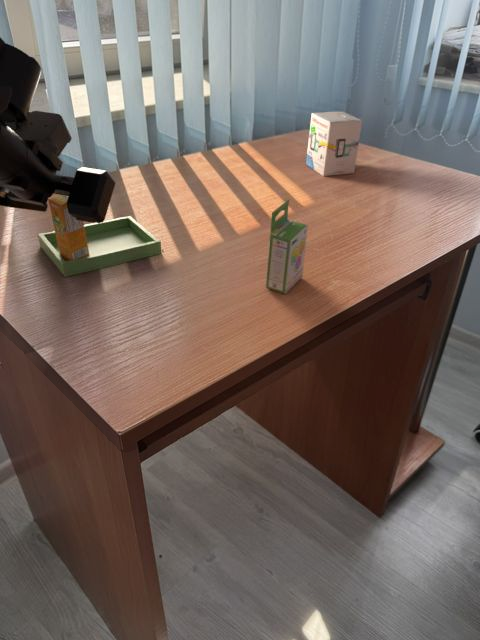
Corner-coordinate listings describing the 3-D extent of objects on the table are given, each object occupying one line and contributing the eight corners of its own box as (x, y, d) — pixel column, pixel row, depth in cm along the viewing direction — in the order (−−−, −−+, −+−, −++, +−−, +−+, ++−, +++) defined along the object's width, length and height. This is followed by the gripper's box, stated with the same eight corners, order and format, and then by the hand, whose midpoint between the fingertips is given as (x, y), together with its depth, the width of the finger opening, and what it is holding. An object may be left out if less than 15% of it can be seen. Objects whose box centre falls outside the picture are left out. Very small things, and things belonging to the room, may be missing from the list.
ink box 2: (304, 164, 123) (310, 111, 116) (335, 161, 126) (342, 110, 119) (323, 176, 117) (330, 121, 109) (354, 173, 120) (363, 119, 113)
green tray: (65, 277, 75) (62, 264, 74) (40, 246, 82) (37, 234, 81) (161, 253, 82) (160, 241, 81) (131, 227, 90) (130, 215, 88)
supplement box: (58, 262, 77) (45, 197, 71) (78, 255, 79) (67, 191, 73) (72, 270, 75) (60, 204, 69) (92, 262, 78) (82, 197, 72)
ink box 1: (286, 295, 74) (294, 218, 67) (264, 288, 76) (270, 212, 68) (302, 277, 79) (311, 203, 72) (282, 271, 80) (288, 198, 73)
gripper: (97, 102, 58) (148, 171, 74) (-43, 83, 62) (33, 152, 77) (69, 194, 57) (127, 245, 72) (-73, 169, 61) (11, 222, 76)
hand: (74, 213), depth 74 cm, fingers open, 9 cm apart
